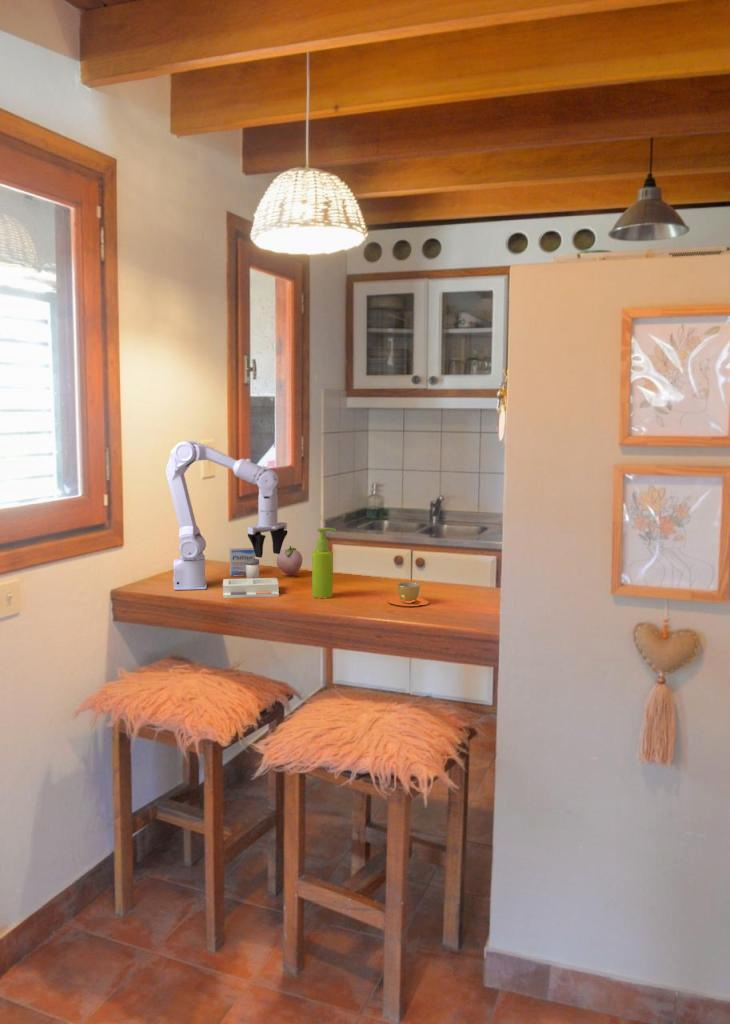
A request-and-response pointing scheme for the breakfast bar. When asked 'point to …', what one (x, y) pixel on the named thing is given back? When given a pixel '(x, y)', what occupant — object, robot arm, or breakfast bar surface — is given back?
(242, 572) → the medicine box
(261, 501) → the robot arm
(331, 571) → the soap dispenser
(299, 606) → the breakfast bar surface
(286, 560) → the decorative fruit
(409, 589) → the cup
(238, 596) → the socket block
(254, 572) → the white pill bottle
